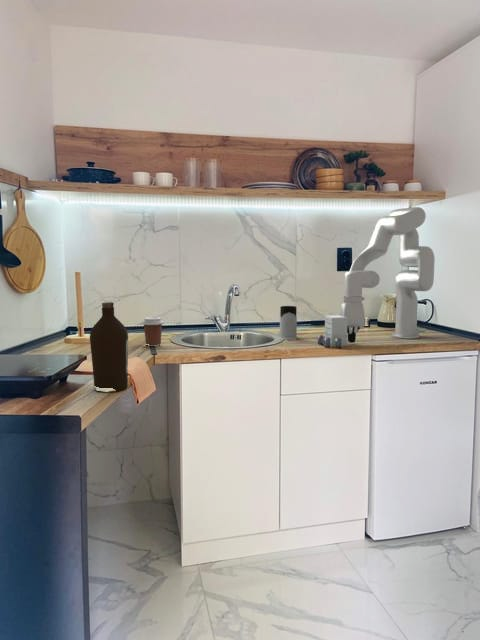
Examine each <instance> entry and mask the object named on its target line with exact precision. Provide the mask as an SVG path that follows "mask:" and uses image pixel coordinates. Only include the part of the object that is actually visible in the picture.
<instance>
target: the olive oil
mask: <svg viewBox="0 0 480 640" xmlns="http://www.w3.org/2000/svg"><path fill="white" fill-rule="evenodd" d="M101 306H102V307H101V314H102V315H101V317H100V318H99V319H98V321H97V322H96V323H95V324H94V325H93V326H92V328H91V329H90V330H91V331H90V333H89V344H90V352H91V362H92V373H93V374H92V375H93V387H94V386H96V387H99V388H113V389H115V390H116V392H115V393H117V392H121V391H122V392H123V391H124V390H126V389H127V388H128V387H129V386H128V385H129V377H128V376H129V375H128V373H129V372H128V371H129V367H128V365H129V333H128V329H127V327H126V326H125V325H124V324H123V323H122V322H121V321H120V320H119V319H118V318H117V317H116V316H115V307H114V306H115V305H114V302H112V301H111V302H110V301H109V302H108V301H107V302H102V303H101Z"/></svg>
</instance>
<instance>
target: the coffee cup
mask: <svg viewBox="0 0 480 640" xmlns="http://www.w3.org/2000/svg"><path fill="white" fill-rule="evenodd" d="M163 324H164V321H163V320H162V318H161V317H159V316H149V317H147V316H146V317H144V320H143V321H142V323H141V325H143V330H144V338H145V345H146V344H149V345H155V346H156V347H159V346H158V345H162V330H163V329H162V328H163Z"/></svg>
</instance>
